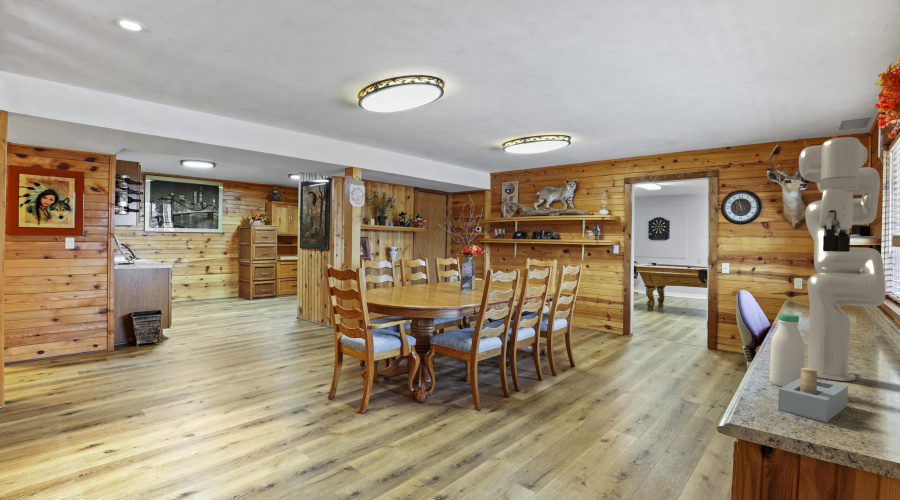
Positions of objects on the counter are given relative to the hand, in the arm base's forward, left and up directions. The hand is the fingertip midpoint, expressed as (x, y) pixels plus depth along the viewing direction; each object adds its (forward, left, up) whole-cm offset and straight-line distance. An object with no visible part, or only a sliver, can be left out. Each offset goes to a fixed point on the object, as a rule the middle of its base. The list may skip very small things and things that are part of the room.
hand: (836, 251), depth 115 cm
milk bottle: (-1, -10, -38) cm, 40 cm away
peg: (+20, 0, -38) cm, 43 cm away
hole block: (+15, 0, -38) cm, 41 cm away
